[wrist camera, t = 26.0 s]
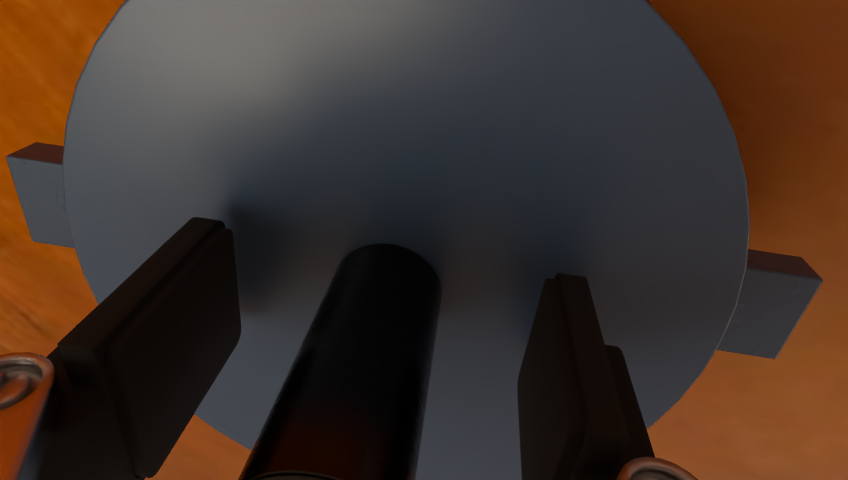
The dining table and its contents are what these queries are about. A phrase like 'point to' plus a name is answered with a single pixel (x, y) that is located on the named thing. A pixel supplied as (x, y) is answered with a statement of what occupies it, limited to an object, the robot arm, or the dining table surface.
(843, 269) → the dining table surface
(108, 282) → the pot lid
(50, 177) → the pot
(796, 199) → the dining table surface
